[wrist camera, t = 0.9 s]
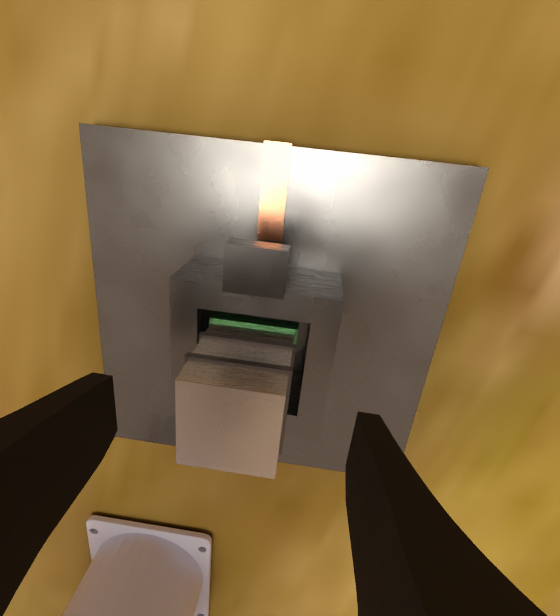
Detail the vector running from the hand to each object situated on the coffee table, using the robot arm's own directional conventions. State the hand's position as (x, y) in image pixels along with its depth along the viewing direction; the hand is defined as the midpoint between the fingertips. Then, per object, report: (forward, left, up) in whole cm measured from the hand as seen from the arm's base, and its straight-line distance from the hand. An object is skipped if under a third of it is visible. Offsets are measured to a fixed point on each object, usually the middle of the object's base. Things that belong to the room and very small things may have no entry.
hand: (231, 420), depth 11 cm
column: (0, 0, -6) cm, 6 cm away
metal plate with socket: (0, 0, -7) cm, 7 cm away
